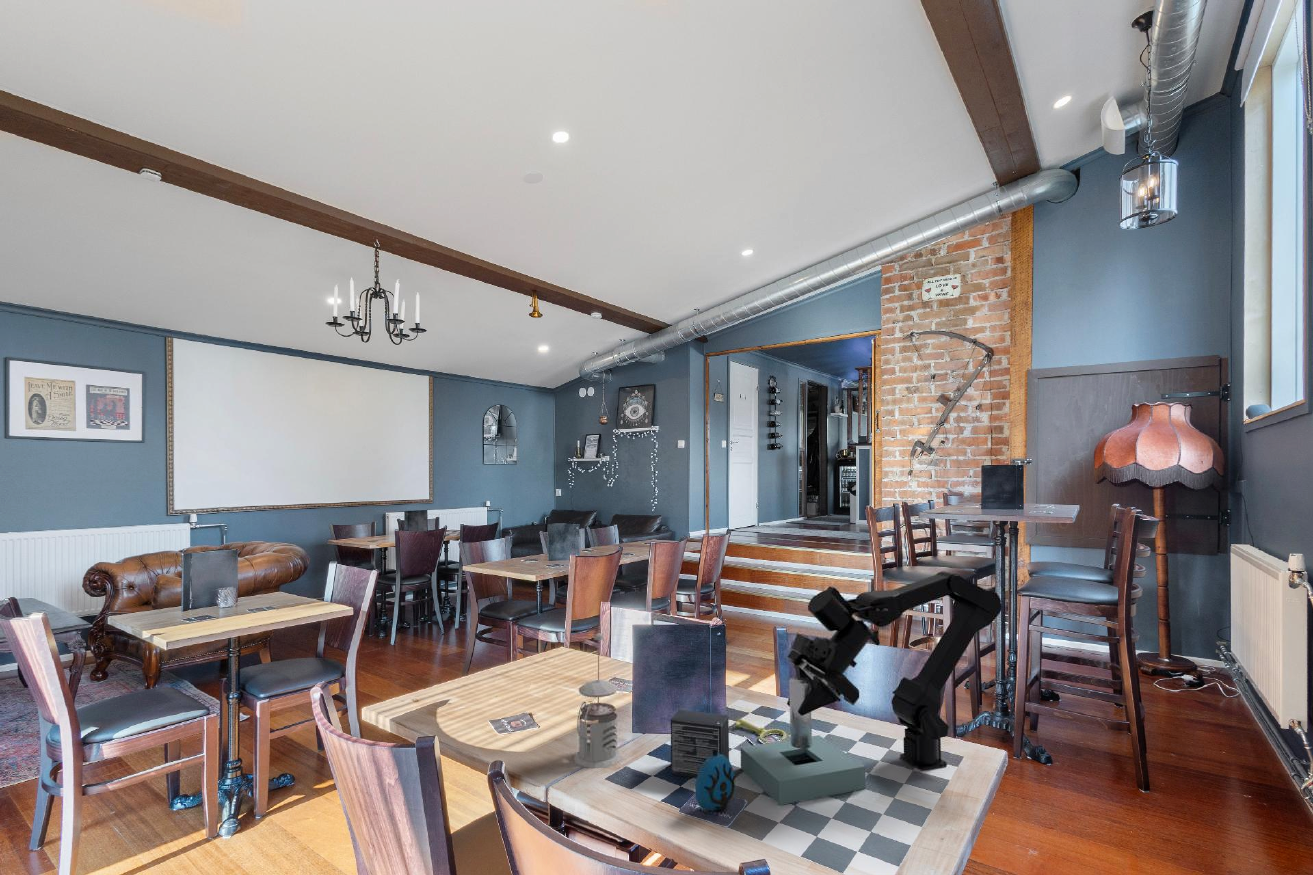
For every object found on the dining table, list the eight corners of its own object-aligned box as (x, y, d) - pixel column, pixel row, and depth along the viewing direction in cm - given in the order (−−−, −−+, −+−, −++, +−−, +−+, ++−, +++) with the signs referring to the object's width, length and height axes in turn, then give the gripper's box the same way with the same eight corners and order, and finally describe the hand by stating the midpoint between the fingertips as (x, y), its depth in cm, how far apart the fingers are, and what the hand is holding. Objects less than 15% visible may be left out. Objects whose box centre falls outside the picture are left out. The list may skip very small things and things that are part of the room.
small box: (730, 768, 126) (730, 713, 127) (723, 783, 120) (722, 725, 121) (679, 760, 130) (679, 707, 130) (669, 774, 124) (669, 718, 124)
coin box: (819, 754, 132) (819, 735, 132) (865, 788, 118) (865, 766, 118) (740, 768, 126) (740, 747, 126) (779, 804, 112) (779, 781, 112)
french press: (630, 751, 134) (630, 630, 135) (602, 775, 123) (603, 643, 125) (589, 743, 138) (590, 625, 139) (559, 765, 127) (560, 638, 129)
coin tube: (811, 740, 124) (810, 677, 125) (812, 749, 120) (810, 684, 121) (790, 739, 125) (789, 676, 125) (790, 747, 121) (789, 682, 122)
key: (737, 726, 148) (737, 717, 148) (789, 737, 142) (789, 727, 142) (725, 737, 142) (725, 728, 142) (779, 749, 136) (779, 739, 136)
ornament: (706, 822, 107) (706, 760, 107) (689, 810, 110) (688, 751, 111) (742, 807, 111) (742, 748, 112) (724, 796, 115) (724, 739, 116)
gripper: (794, 609, 134) (746, 667, 130) (842, 630, 116) (788, 698, 112) (829, 644, 135) (782, 703, 132) (882, 670, 117) (829, 739, 114)
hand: (794, 709), depth 122 cm, fingers closed on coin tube, 4 cm apart
